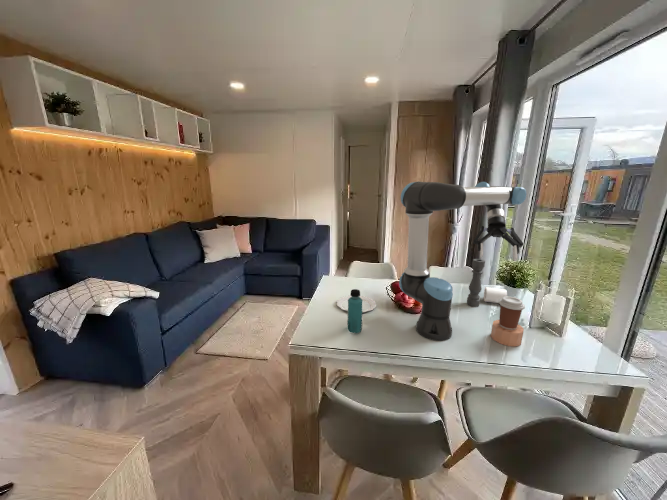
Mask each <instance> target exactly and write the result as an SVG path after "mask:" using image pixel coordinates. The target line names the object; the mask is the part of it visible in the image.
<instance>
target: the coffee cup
mask: <svg viewBox="0 0 667 500" xmlns="http://www.w3.org/2000/svg"><path fill="white" fill-rule="evenodd" d="M498 304H499V307H500V308H499V319H498V320H499V325H500V326H501V327H503V328H505V329H508V330H516V329H517V325H519V322H520V318H521V314H522V312H523V310H524V309H525V308H526V307H525V304H524V303H523V300H521V299H520V298H518V297H514V296H508V295H507V296H506V297H503V298H502V299H501V300H499V303H498Z"/></svg>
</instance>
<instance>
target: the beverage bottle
mask: <svg viewBox="0 0 667 500" xmlns="http://www.w3.org/2000/svg"><path fill="white" fill-rule="evenodd" d="M350 295H351V296H352V297H350V298H349V299H348V301H347V310H348V311H347V325H346V326H347V331H348V332H349V333H352V334H359V333H361V332H362V330H363V312H362V311H363V302H364V301H363V300H362V299H361V298H360V297H359V296H361V291H360V289H356V288H355V289H351V290H350ZM350 295H349V296H350Z"/></svg>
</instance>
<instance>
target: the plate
mask: <svg viewBox="0 0 667 500" xmlns="http://www.w3.org/2000/svg"><path fill="white" fill-rule="evenodd" d="M350 297H352V296H351V295H347V296H346V295H345V296H342V297H340V298H339V299H337V300H336V306H337V307H338V308H340V309H341V310H342V311H346V312H348V309H346V308H344V307H343V304H344V303H345V302H348V299H349V298H350ZM359 297H360V298H361V299H362V300H363V302H366V303H368V304H369V305H370V307H369V308H368V309H367V310H362V313H366V312H371V311H372V310H374V309H375V308H376V307H377V304H376V301H375V300H374V299H372V298H370V297H369V296H363V295H360V296H359Z"/></svg>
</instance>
